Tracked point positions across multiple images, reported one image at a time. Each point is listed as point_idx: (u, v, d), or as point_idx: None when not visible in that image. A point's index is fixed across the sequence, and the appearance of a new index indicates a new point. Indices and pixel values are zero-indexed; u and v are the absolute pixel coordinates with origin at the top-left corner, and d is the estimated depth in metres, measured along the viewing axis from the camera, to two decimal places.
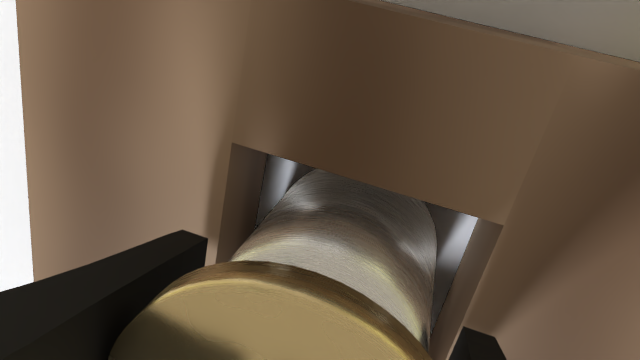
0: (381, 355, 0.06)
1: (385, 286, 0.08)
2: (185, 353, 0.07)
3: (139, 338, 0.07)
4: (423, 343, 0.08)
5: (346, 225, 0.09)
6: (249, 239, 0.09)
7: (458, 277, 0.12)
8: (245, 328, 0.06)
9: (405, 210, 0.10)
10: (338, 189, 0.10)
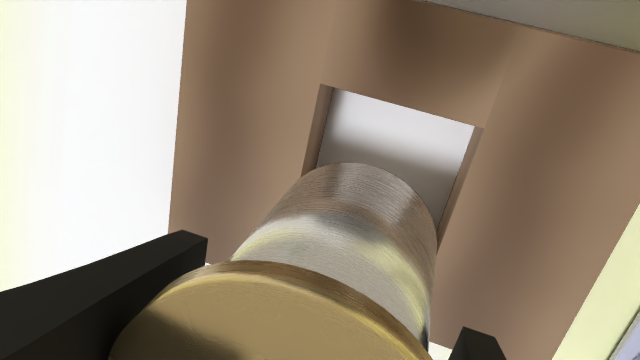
0: (381, 354, 0.06)
1: (384, 285, 0.08)
2: (185, 352, 0.07)
3: (139, 337, 0.07)
4: (423, 343, 0.08)
5: (345, 224, 0.09)
6: (249, 239, 0.09)
7: (457, 178, 0.18)
8: (245, 327, 0.06)
9: (405, 209, 0.10)
10: (337, 188, 0.10)
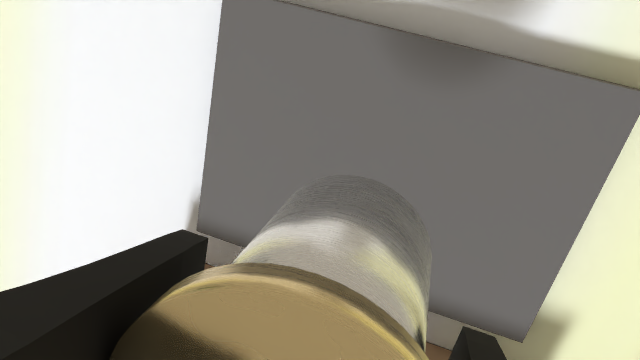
0: (381, 353, 0.06)
1: (382, 291, 0.08)
2: (187, 354, 0.07)
3: (141, 339, 0.07)
4: None
5: (343, 233, 0.09)
6: (248, 246, 0.09)
7: None
8: (247, 327, 0.06)
9: (401, 220, 0.11)
10: (335, 199, 0.10)
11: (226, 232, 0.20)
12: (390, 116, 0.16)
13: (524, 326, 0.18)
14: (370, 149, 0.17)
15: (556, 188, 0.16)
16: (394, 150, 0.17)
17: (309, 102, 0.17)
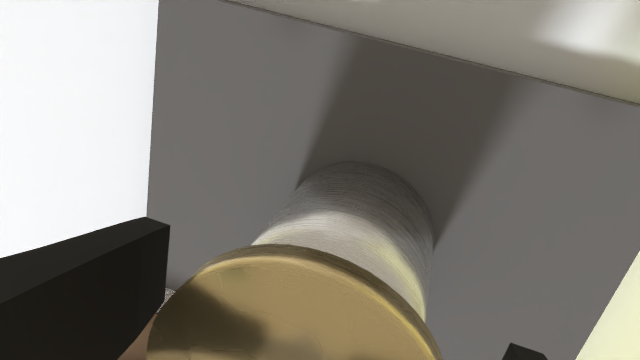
0: (384, 319, 0.07)
1: (387, 268, 0.09)
2: (219, 321, 0.08)
3: (179, 309, 0.08)
4: None
5: (352, 216, 0.10)
6: (267, 229, 0.10)
7: None
8: (271, 299, 0.07)
9: (405, 204, 0.12)
10: (344, 184, 0.11)
11: (177, 281, 0.17)
12: (371, 148, 0.13)
13: None
14: None
15: (583, 242, 0.12)
16: None
17: (270, 129, 0.13)
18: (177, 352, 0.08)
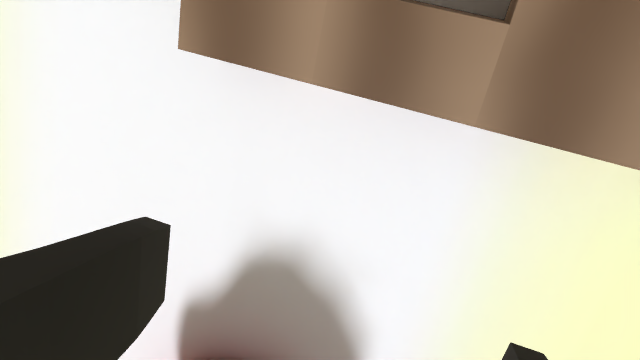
0: None
1: None
2: None
3: None
4: None
5: None
6: None
7: None
8: None
9: None
10: None
11: None
12: None
13: None
14: None
15: None
16: None
17: None
18: None
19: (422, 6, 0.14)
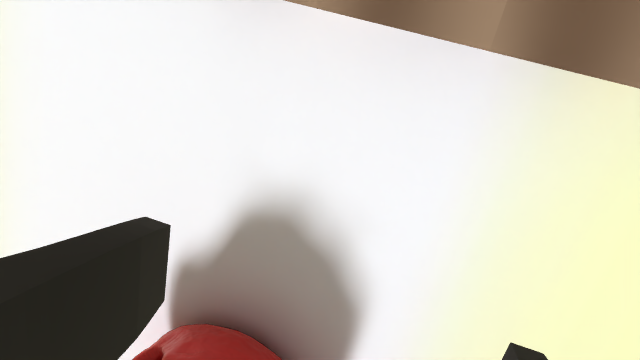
0: None
1: None
2: None
3: None
4: None
5: None
6: None
7: None
8: None
9: None
10: None
11: None
12: None
13: None
14: None
15: None
16: None
17: None
18: None
19: None
